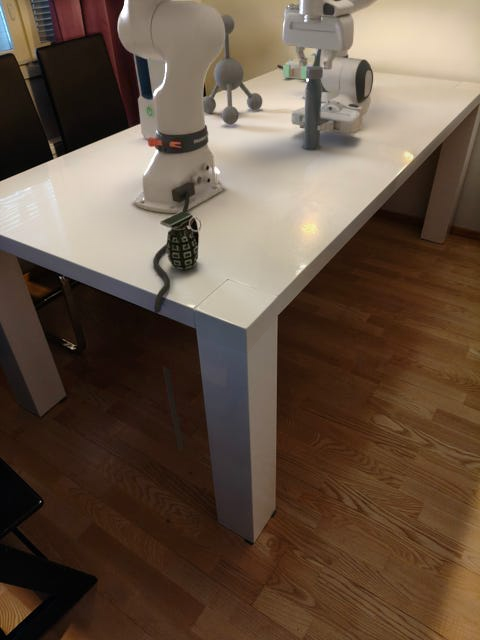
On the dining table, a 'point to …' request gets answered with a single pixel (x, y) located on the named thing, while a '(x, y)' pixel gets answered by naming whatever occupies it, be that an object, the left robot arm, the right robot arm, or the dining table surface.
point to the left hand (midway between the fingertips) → (315, 67)
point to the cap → (314, 72)
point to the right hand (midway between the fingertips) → (310, 127)
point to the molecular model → (229, 81)
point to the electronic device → (148, 92)
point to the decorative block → (297, 68)
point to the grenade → (182, 240)
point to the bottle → (312, 113)
